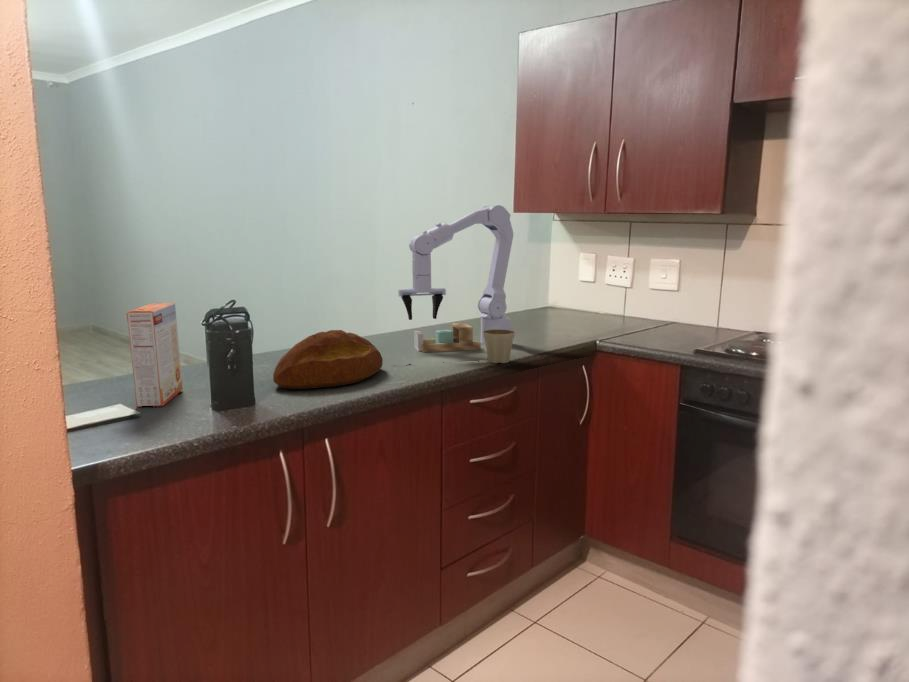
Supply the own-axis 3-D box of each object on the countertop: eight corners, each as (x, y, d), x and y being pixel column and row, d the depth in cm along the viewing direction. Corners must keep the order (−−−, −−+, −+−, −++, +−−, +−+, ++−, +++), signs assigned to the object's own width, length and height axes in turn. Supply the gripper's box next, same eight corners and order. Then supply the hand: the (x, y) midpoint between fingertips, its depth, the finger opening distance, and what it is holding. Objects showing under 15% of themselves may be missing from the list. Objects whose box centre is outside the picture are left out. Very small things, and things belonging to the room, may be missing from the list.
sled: (451, 345, 207) (451, 329, 206) (456, 349, 200) (456, 332, 199) (414, 347, 204) (414, 330, 203) (418, 351, 197) (418, 334, 197)
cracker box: (157, 391, 153) (149, 302, 150) (183, 391, 154) (177, 302, 150) (133, 408, 140) (124, 310, 136) (162, 407, 140) (154, 310, 136)
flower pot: (518, 359, 189) (519, 329, 188) (510, 366, 181) (511, 335, 179) (487, 357, 193) (487, 328, 191) (478, 363, 184) (478, 333, 182)
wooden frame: (471, 346, 210) (471, 322, 209) (480, 351, 201) (480, 327, 199) (416, 348, 206) (416, 324, 205) (422, 354, 196) (422, 329, 195)
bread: (251, 384, 161) (248, 334, 159) (356, 363, 185) (355, 320, 183) (300, 399, 147) (298, 345, 145) (407, 375, 171) (406, 328, 169)
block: (449, 344, 205) (449, 329, 205) (452, 346, 201) (452, 332, 200) (435, 344, 204) (435, 330, 204) (438, 347, 200) (438, 332, 199)
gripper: (441, 273, 206) (442, 316, 209) (396, 274, 203) (397, 318, 205) (447, 275, 200) (447, 319, 202) (400, 276, 196) (401, 321, 198)
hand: (422, 318), depth 203 cm, fingers open, 7 cm apart
